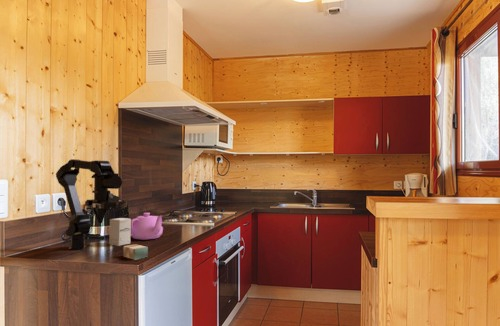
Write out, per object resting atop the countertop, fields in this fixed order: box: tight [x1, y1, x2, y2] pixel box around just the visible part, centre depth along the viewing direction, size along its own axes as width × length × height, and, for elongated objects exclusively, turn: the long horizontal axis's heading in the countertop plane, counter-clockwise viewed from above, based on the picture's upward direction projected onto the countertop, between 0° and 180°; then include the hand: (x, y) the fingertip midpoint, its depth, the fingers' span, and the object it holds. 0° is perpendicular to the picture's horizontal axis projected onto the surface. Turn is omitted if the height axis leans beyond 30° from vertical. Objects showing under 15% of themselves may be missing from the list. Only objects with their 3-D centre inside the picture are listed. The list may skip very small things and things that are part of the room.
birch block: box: [123, 243, 149, 261], centre depth 155 cm, size 4×6×9 cm
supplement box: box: [108, 217, 132, 247], centre depth 181 cm, size 7×7×13 cm
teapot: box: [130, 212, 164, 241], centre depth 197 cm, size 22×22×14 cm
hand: (100, 222), depth 164 cm, fingers closed
